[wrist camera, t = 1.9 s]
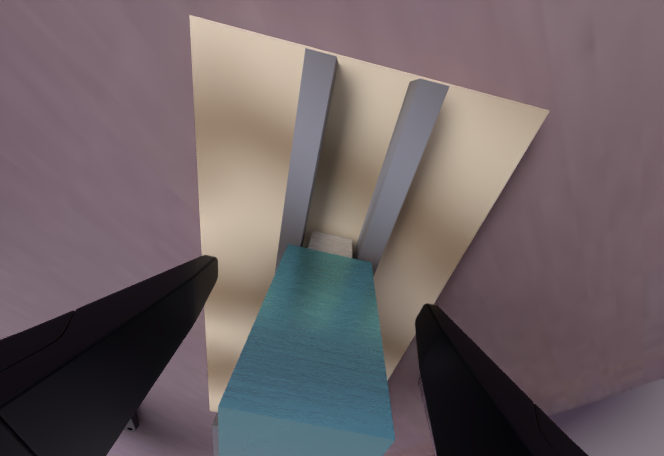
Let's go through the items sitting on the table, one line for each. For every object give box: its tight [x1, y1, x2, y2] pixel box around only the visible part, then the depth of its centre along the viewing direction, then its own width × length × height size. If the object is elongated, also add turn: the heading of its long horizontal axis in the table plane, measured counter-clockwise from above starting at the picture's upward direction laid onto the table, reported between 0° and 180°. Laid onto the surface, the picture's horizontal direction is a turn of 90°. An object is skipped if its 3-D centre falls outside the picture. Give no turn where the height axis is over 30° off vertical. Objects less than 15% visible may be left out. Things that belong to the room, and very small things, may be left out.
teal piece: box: [218, 230, 395, 456], centre depth 10 cm, size 13×3×6 cm, turn 167°
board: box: [190, 15, 550, 412], centre depth 12 cm, size 23×11×2 cm, turn 167°
